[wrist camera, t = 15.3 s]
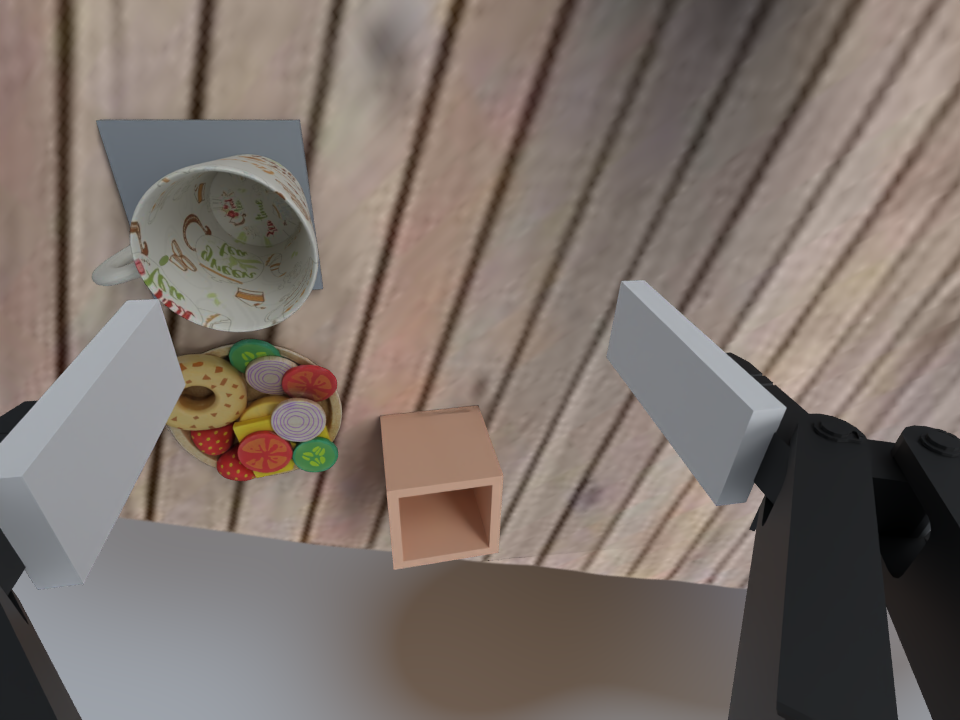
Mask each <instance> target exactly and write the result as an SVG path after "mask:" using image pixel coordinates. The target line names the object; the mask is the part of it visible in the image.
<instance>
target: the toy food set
mask: <svg viewBox="0 0 960 720" xmlns="http://www.w3.org/2000/svg"><path fill="white" fill-rule="evenodd" d="M177 359H178V362H179V365H180V368H181V372H182V375H183V378H184V381H185V384H186V385H185V387H184V389H183V391H182V393H181V395H180V397H179V399H178V401H177V403H176V405H175V407H174V409H173V411H172V412H171V414H170V416H169V418H168V420H167V422H166V425H169V427H170V429H171V432H172V434H173V435H174V437H175V438H176V440H177V441H178V442H179V444H181V445H182V447H183V448H184V449H185V450H186V451H187V452H189V453H190V454H191V455H192V456H194V457H195V458H197V459H198V460H200V461H202V462H204V463H205V464H207V465H209V466H212V467H214V468H217V470H218V472H219V473H220V474H221V475H222V476H223V477H225V478H227V479H230V480H235V481H247V480H251V479H253V478H255V477H256V478H259V477H264V476H272V475H278V474H283V473H287V472H291V471H294V470H296V469H299V468H300V469H302V470H304V471H307V472H321V471H325V470H327V469H329V468H331V467H332V466H333V465H334V464H335V462H336V460H337V458H338V450H337V447H336V446H335V444H334V443H332V442H333V441H334V439H335V437H336V435H337V433H338V431H339V428H340V425H341V419H342V406H341V401H340V397H339V395H338V392H337V390H336V389H337V380H336V378H335V376H334V375H333V374H332V373H331V372H330V371H329V370H327V369H325V368H323V367H320V366H317V365H316V364H314V363H313V362H312V361H310V360H309V359H307V358H305V357H304V356H302V355H300V354H298V353H296V352H293V351H291V350H288V349H285V348H282V347H278V346H274V345H271V344H270V343H268V342H265V341H262V340H258V339H246V340H241V341H239V342H237V343H235V344H230V345H225V346H221V347H217V348H215V349H212V350H209V351H207V352H205V353H202V354H188V355H182V356H178V357H177Z"/></svg>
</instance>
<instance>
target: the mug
mask: <svg viewBox="0 0 960 720" xmlns="http://www.w3.org/2000/svg"><path fill="white" fill-rule="evenodd" d="M133 260H134V263H132V264H129V265H127V264H128V263H130V262H131V261H133ZM125 265H126V266H125ZM317 271H318V247H317V241H316V237H315V233H314V229H313V225H312V221H311V217H310V213H309V209H308V206H307V202H306V198H305V195H304V192H303V190H302V188H301V186H300V184H299V182H298V181H297V180H296V178H295V177H294V176H293V175H292V174H291V172H290V171H288V170H287V169H286V168H285V167H284V166H282V165H281V164H279V163H278V162H276V161H274V160H272V159H269V158H267V157H264V156H259V155H253V154H242V155H236V156H231V157H227V158H222V159H218V160H214V161H209V162H205V163H200V164H196V165H192V166H188V167H185V168H181V169H179V170H176V171H174V172H172V173H170V174H168V175H166V176H165V177H163V178H161V179H160V180H159V181H157V182H156V183H155V184H154V185H152V186H151V187H150V188H149V189H148V190H147V191H146V192H145V194H144V195H143V196H142V198H141V199H140V201H139V203H138V205H137V206H136V209H135V211H134V214H133V217H132V221H131V226H130V245H129V246H127V247H126V248H124V249H123V250H121V251H120V252H118V253H116V254H115V255H113V256H112V257H110V258H109V259H107V260H106V261H104V262H103V263H102V264H100V265H99V266H98V267H97V268H96V269H95V270H94V272H93V274H92V279H93V282H95V283H96V284H98V285H103V286H112V285H116V284H121V283H124V282H127V281H130V280H133V279H136V278H139V277H141V278H142V279H143V281H144V283H145V284H146V285H147V287H148V288H149V289H150V291H151V292H152V293H153V294H154V295H155V296H156V297H157V298H158V299H159V300H160V301H161V302H162V303H163V304H164V305H165V306H167V307H168V308H169V309H170V310H172V311H173V312H175V313H176V314H178V315H180V316H181V317H183V318H185V319H187V320H189V321H191V322H193V323H195V324H198V325H201V326H204V327H207V328H211V329H215V330H220V331H228V332H250V331H256V330H261V329H264V328H268V327H271V326H273V325H276V324H278V323H280V322H282V321H284V320H285V319H287V318H288V317H290V316H291V315H292V314H293V313H295V312H296V311H297V310H298V309H299V308H300V307H301V306H302V304H303V303H304V302H305V301H306V299H307V298H308V296H309V294H310V293H311V291H312V288H313V286H314V284H315V280H316V277H317Z"/></svg>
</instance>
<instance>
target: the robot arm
mask: <svg viewBox="0 0 960 720" xmlns="http://www.w3.org/2000/svg"><path fill="white" fill-rule="evenodd" d="M607 359H608V360H609V361H610V363H611V364H612V365H613V367H614V368H615V369H616V371H617V372H618V373H619V375H620V376H621V378H622V379H623V380H624V382H625V383H626V384H627V386H628V387H629V388H630V390H631V391H632V392H633V394H634V395H635V396H636V398H637V399H638V401H639V402H640V403H641V405H642V406H643V407H644V409H645V410H646V411H647V413H648V414H649V415H650V417H651V418H652V420H653V421H654V422H655V424H656V425H657V426H658V428H659V429H660V430H661V432H662V433H663V434H664V436H665V437H666V439H667V440H668V441H669V443H670V444H671V445H672V447H673V448H674V449H675V451H676V452H677V453H678V455H679V456H680V458H681V459H682V460H683V462H684V463H685V464H686V466H687V467H688V468H689V470H690V471H691V472H692V474H693V475H694V476H695V478H696V479H697V481H698V482H699V483H700V485H701V486H702V487H703V489H704V490H705V491H706V493H707V494H708V495H709V497H710V498H711V500H712V501H713V502H714V504H715V505H716V506H720V505H728V504H736V503H744V502H746V501H747V498H748V496H749V494H750V492H751V489H752V487H753V485H754V483H755V484H756V485H757V486H758V487H759V488H760V490H761V491H762V492H763V493H764V494H765V496H764V498H763V500H762V503H761V505H760V507H759V509H758V511H757V513H756V516H755V518H754V520H753V522H752V524H751V527H750V530H752V531H755V530H756V535H755V541H754V548H753V555H752V561H751V568H750V575H749V582H748V588H747V595H746V602H745V609H744V616H743V622H742V629H741V636H740V642H739V649H738V656H737V662H736V669H735V676H734V683H733V689H732V696H731V703H730V709H729V717H728V720H898V715H897V706H896V697H895V687H894V678H893V668H892V659H891V649H890V641H889V631H888V621H887V612H886V607H887V610H888V612H889V614H890V617H891V619H892V622H893V624H894V627H895V629H896V631H897V634H898V636H899V639H900V641H901V644H902V646H903V648H904V651H905V653H906V656H907V658H908V661H909V663H910V666H911V668H912V670H913V673H914V675H915V678H916V680H917V683H918V685H919V687H920V690H921V692H922V695H923V697H924V699H925V702H926V705H927V707H928V709H929V712H930V714H931V717H932V719H933V720H960V439H959V438H957V437H956V436H955V435H953V434H951V433H949V432H948V433H946V431H943V430H940V429H934V428H930V427H927V426H915V425H914V426H910V427H906V428H905V429H904V430H903V432H902V433H901V435H900V436H899V438H898V440H897V441H896V443H891V442H884V441H876V440H868V439H866V436H865V435H864V434H863V433H862V432H861V431H860V430H858V429H857V428H856V427H854V426H853V425H851V424H849V423H848V422H846V421H843V420H841V419H838V418H836V417H833V416H829V415H824V414H808V413H807V412H806V411H805V410H804V409H803V408H802V407H800V406H799V405H798V404H797V403H796V402H795V401H793V400H792V399H791V398H790V397H789V396H788V395H786V394H785V393H784V392H783V391H782V390H781V389H780V388H778V387H777V386H776V385H773V382H771V381H770V380H769V379H768V378H767V377H766V376H762V373H761V372H760V371H759V370H758V369H756V368H755V367H754V366H753V365H752V364H751V363H749V362H748V361H746V360H744V359H742V358H740V357H738V356H736V355H734V354H732V353H725V352H724V351H723V350H722V349H721V348H719V347H718V346H717V345H716V344H715V343H714V342H713V341H712V340H710V339H709V338H708V337H707V336H706V335H705V334H704V333H703V332H702V331H700V330H699V329H698V328H697V327H696V326H695V325H694V324H693V323H691V322H690V321H689V320H688V319H687V318H686V317H685V316H684V315H683V314H681V313H680V312H679V311H678V310H677V309H676V308H675V307H674V306H672V305H671V304H670V303H669V302H668V301H667V300H666V299H665V298H664V297H662V296H661V295H660V294H659V293H658V292H657V291H656V290H655V289H653V288H652V287H651V286H650V285H649V284H648V283H647V282H646V281H645V280H637V281H621V285H620V290H619V295H618V300H617V306H616V311H615V316H614V321H613V326H612V331H611V336H610V341H609V347H608V352H607ZM185 385H186V384H185V381H184V378H183V375H182V372H181V368H180V365H179V362H178V359H177V356H176V352H175V349H174V346H173V343H172V340H171V336H170V333H169V330H168V327H167V324H166V320H165V317H164V314H163V311H162V308H161V304H160V301H159V299H152V300H127V301H126V302H125V303H124V305H123V306H122V307H121V308H120V309H119V310H118V311H117V312H116V314H115V315H114V316H113V317H112V318H111V319H110V320H109V321H108V323H107V324H106V325H105V326H104V327H103V328H102V329H101V330H100V332H99V333H98V334H97V335H96V336H95V337H94V338H93V339H92V341H91V342H90V343H89V344H88V345H87V346H86V347H85V349H84V350H83V351H82V352H81V353H80V354H79V355H78V356H77V358H76V359H75V360H74V361H73V362H72V363H71V364H70V365H69V367H68V368H67V369H66V370H65V371H64V372H63V373H62V374H61V376H60V377H59V378H58V379H57V380H56V381H55V382H54V383H53V385H52V386H51V387H50V388H49V389H48V390H47V391H46V392H45V394H44V395H43V396H42V397H41V398H40V399H39V400H38V401H26V402H23V403H22V404H20V405H18V406H17V407H15V408H14V409H12V410H10V411H9V412H7V413H6V414H4V415H2V416H1V417H0V720H82V719H81V717H80V715H79V713H78V712H77V709H76V707H75V706H74V704H73V702H72V700H71V698H70V696H69V694H68V692H67V690H66V689H65V687H64V685H63V683H62V681H61V679H60V677H59V675H58V673H57V671H56V669H55V667H54V665H53V664H52V662H51V660H50V658H49V656H48V654H47V652H46V650H45V648H44V646H43V644H42V643H41V640H40V639H39V637H38V635H37V633H36V631H35V629H34V627H33V625H32V623H31V621H30V619H29V617H28V616H27V614H26V612H25V610H24V608H23V606H22V604H21V602H20V600H19V599H18V597H17V596H16V594H15V593H14V592H13V590H12V588H13V587H14V585H15V583H16V582H17V580H18V579H19V577H20V576H21V574H22V572H23V571H24V570H25V571H26V573H27V574H28V576H29V577H30V579H31V580H32V582H33V583H34V585H35V586H36V588H37V589H38V590H40V589H48V588H56V587H64V586H72V585H80V584H84V583H85V580H86V579H87V577H88V575H89V573H90V571H91V569H92V567H93V565H94V563H95V561H96V559H97V557H98V555H99V553H100V551H101V550H102V548H103V546H104V544H105V542H106V540H107V538H108V536H109V533H110V532H111V530H112V528H113V526H114V524H115V522H116V520H117V518H118V516H119V514H120V512H121V510H122V508H123V506H124V504H125V503H126V501H127V499H128V497H129V495H130V493H131V491H132V489H133V487H134V485H135V483H136V481H137V479H138V477H139V475H140V473H141V471H142V469H143V467H144V465H145V463H146V461H147V459H148V458H149V456H150V454H151V452H152V450H153V448H154V446H155V444H156V442H157V440H158V438H159V436H160V434H161V432H162V430H163V428H164V426H165V424H166V422H167V420H168V418H169V416H170V414H171V412H172V411H173V409H174V407H175V405H176V403H177V401H178V399H179V397H180V395H181V393H182V391H183V389H184V387H185ZM930 530H931V531H930Z"/></svg>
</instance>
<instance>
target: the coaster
mask: <svg viewBox="0 0 960 720" xmlns="http://www.w3.org/2000/svg"><path fill="white" fill-rule="evenodd" d="M96 122H97V125H98V128H99V131H100V135H101V138H102V141H103V144H104V147H105V150H106V153H107V156H108V159H109V162H110V165H111V169H112V172H113V175H114V178H115V181H116V184H117V187H118V190H119V193H120V196H121V199H122V203H123V206H124V209H125V212H126V215H127V218H128V221H129V224H130V226H131V221H132V217H133V214H134V211H135V209H136V206H137V205H138V203H139V201H140V199H141V198H142V196H143V195H144V194H145V192H146V191H147V190H148V189H149V188H150V187H151V186H152V185H154V184H155V183H156V182H157V181H159V180H160V179H161V178H163V177H165V176H166V175H168V174H170V173H172V172H174V171H176V170H179V169H181V168H185V167H188V166H192V165H196V164H200V163H205V162H209V161H214V160H218V159H222V158H227V157H231V156H236V155H242V154H253V155H259V156H264V157H267V158H269V159H272V160H274V161H276V162H278V163H279V164H281V165H282V166H284V167H285V168H286V169H287V170H288V171H290V172H291V174H292V175H293V176H294V177H295V178H296V180H297V181H298V182H299V184H300V186H301V188H302V190H303V192H304V195H305V198H306V202H307V206H308V209H309V213H310V217H311V221H312V225H313V229H314V233H315V237H316V232H315V225H314V218H313V211H312V204H311V196H310V189H309V182H308V175H307V168H306V161H305V153H304V146H303V139H302V132H301V125H300V120H97V121H96ZM316 241H317V239H316ZM315 289H323V282H322V275H321V268H320V261H319V254H318V271H317V277H316V280H315V284H314V286H313V288H312V290H315ZM152 295H153V298H154V299H158V298H157V297H156V296H155V295H154V294H153V293H152Z"/></svg>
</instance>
